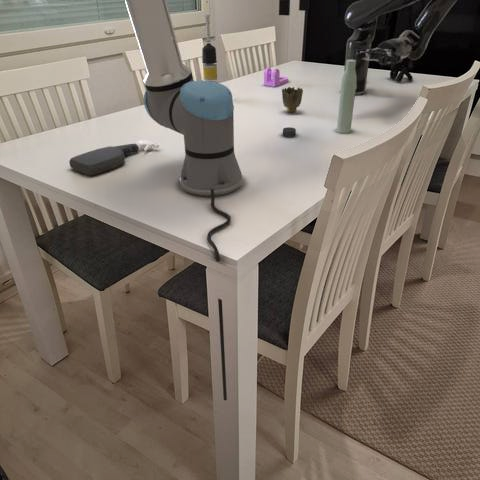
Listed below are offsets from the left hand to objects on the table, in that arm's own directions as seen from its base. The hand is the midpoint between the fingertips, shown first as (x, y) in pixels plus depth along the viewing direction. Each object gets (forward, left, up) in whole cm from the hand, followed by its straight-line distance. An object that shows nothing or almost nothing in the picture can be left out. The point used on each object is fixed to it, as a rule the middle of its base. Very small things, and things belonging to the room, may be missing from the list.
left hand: (294, 12), depth 122 cm
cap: (0, 0, -33) cm, 33 cm away
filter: (+34, +41, -34) cm, 63 cm away
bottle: (+9, -16, -34) cm, 39 cm away
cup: (+24, +5, -34) cm, 43 cm away
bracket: (+66, +22, -34) cm, 78 cm away
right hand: (+19, -20, -14) cm, 31 cm away
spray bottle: (-34, +41, -34) cm, 63 cm away
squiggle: (+87, -29, -34) cm, 98 cm away
